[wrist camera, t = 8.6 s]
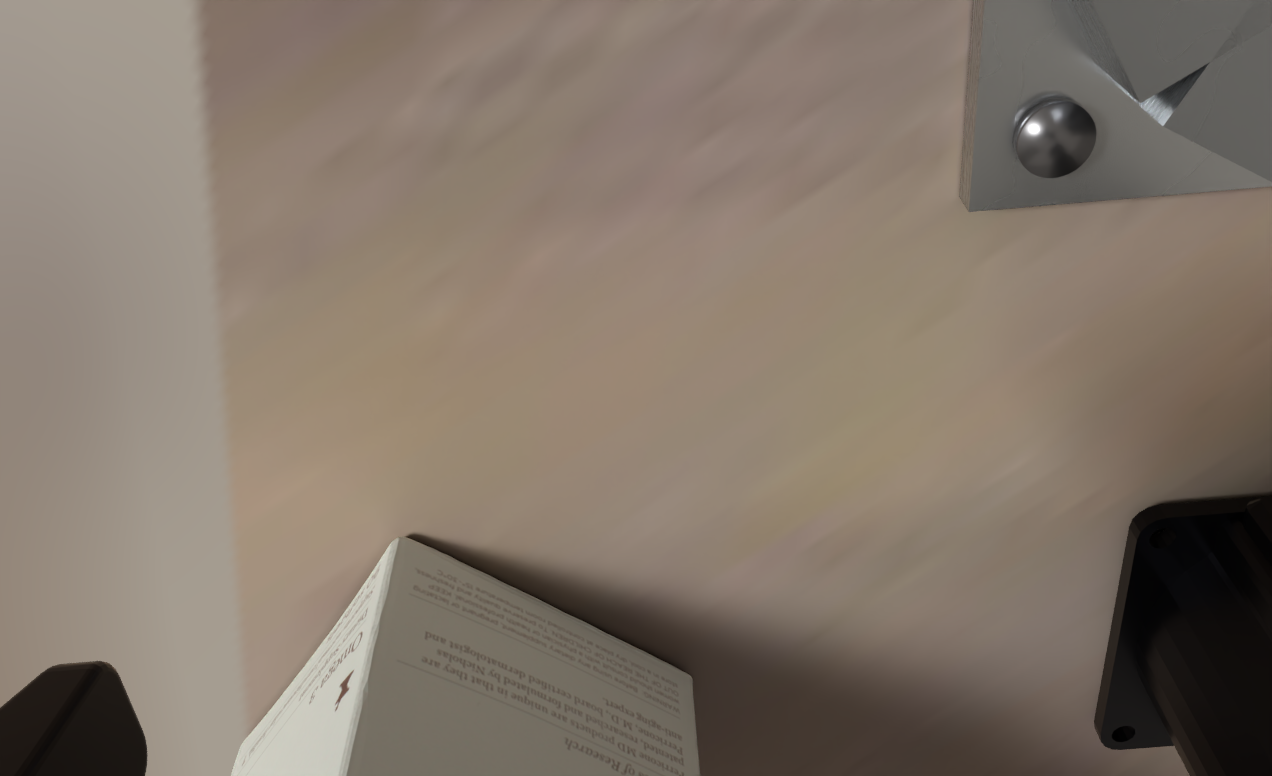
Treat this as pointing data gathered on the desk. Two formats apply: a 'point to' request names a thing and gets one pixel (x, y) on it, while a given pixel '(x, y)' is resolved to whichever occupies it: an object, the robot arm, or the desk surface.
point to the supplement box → (471, 688)
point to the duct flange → (1115, 100)
